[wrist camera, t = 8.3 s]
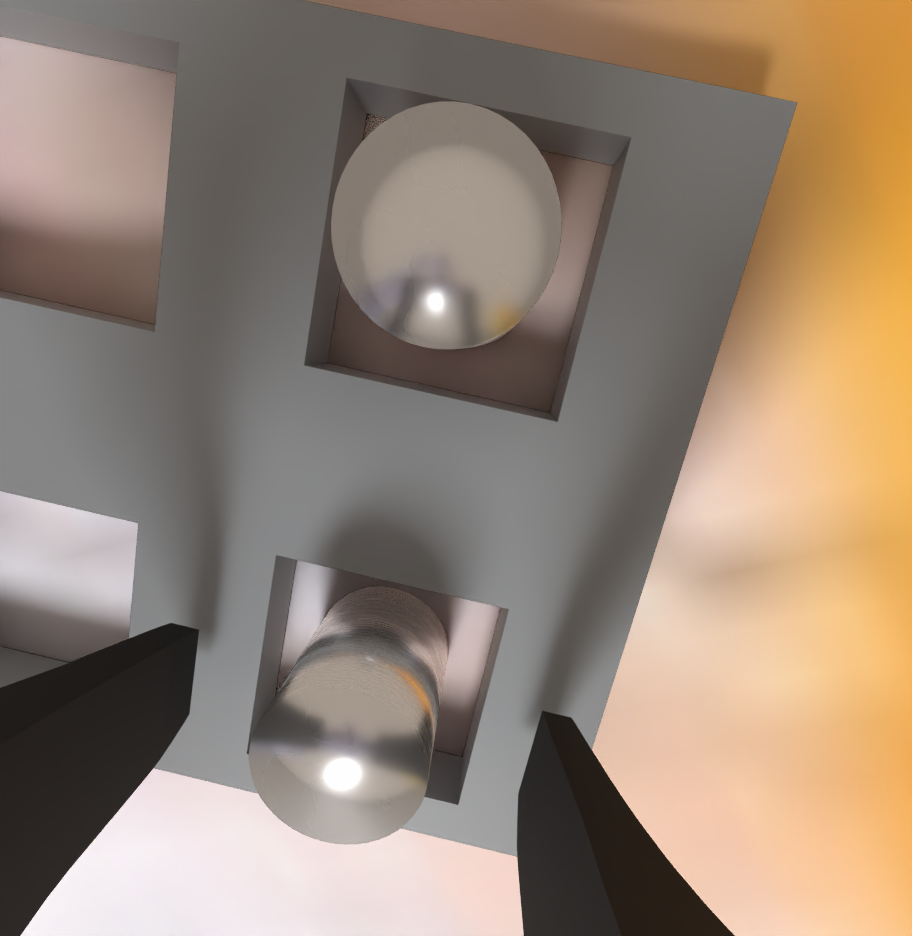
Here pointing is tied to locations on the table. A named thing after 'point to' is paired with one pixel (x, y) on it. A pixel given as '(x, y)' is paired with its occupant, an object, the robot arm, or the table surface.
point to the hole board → (376, 396)
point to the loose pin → (355, 720)
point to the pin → (446, 225)
